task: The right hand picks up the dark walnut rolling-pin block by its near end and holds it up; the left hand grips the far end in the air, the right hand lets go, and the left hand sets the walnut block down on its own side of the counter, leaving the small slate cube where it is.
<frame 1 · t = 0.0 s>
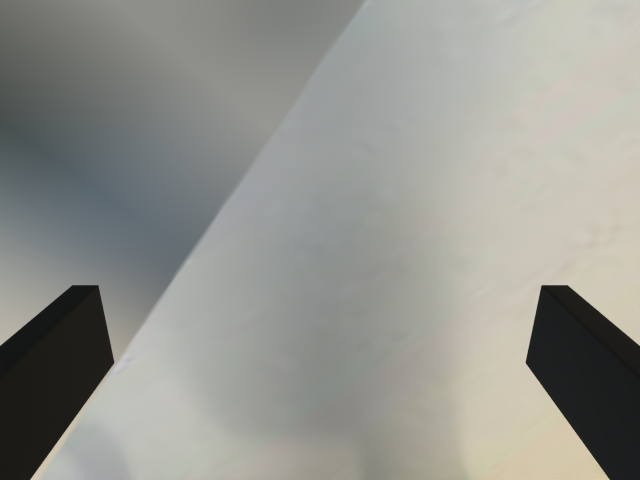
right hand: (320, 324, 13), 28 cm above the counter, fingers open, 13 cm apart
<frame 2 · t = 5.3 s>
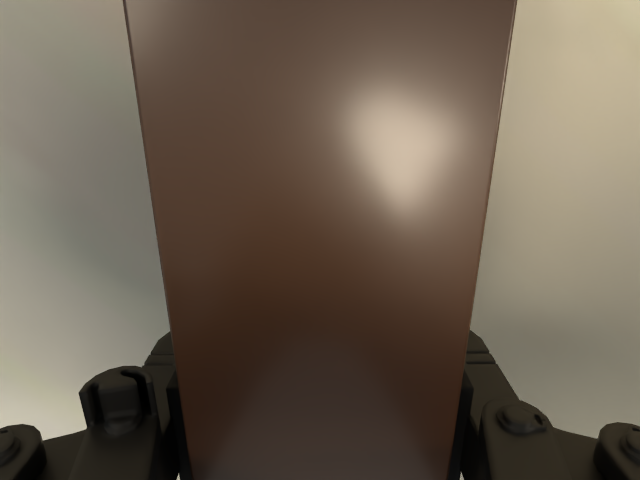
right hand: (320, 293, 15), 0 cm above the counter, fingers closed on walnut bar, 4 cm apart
walnut bar: (320, 1, 12), on the counter, touching right hand
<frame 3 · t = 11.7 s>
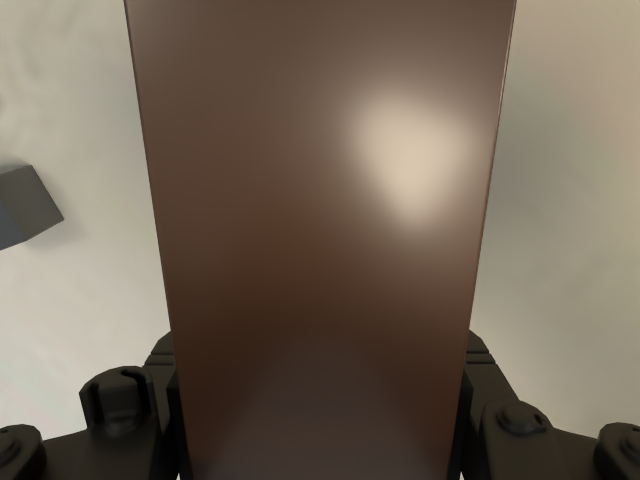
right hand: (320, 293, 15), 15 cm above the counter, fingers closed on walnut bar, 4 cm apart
slate cube: (23, 202, 29), on the counter
walnut bar: (320, 0, 12), point 14 cm above the counter, touching right hand, left hand
when the right hand's fingers open (15 cm above the counter, at t = 12.5 s): walnut bar stays where it is, held by the left hand.
when the left hand's fingers open (5 cm above the counter, at t = 21.9 s): walnut bar drops 1 cm, on the counter.
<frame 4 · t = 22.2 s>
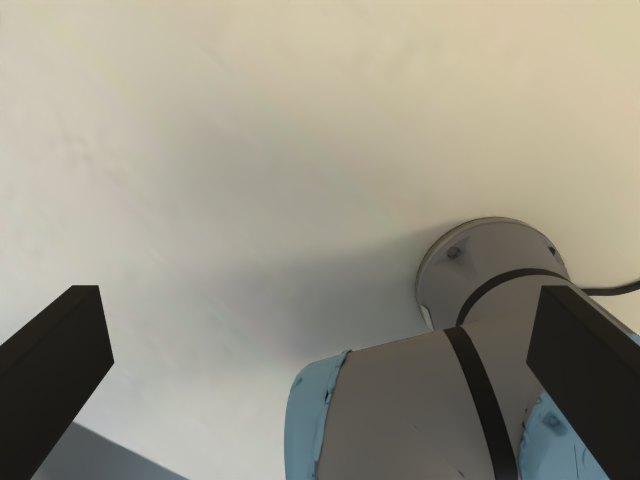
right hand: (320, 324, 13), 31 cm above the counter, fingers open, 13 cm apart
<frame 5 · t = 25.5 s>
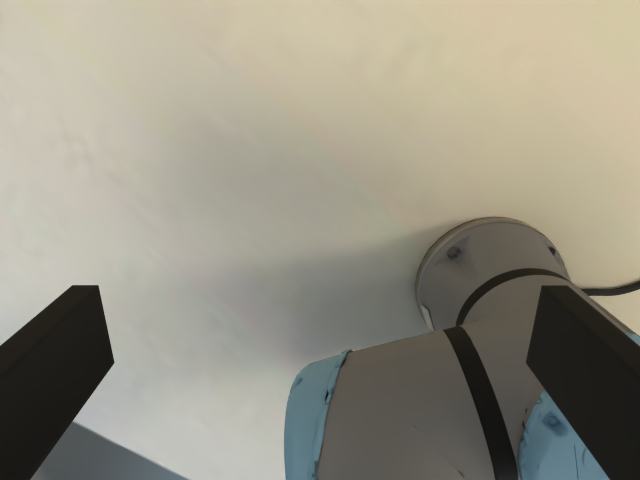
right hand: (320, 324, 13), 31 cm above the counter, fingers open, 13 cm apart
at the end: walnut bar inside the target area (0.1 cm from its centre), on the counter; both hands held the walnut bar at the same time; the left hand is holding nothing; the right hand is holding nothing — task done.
